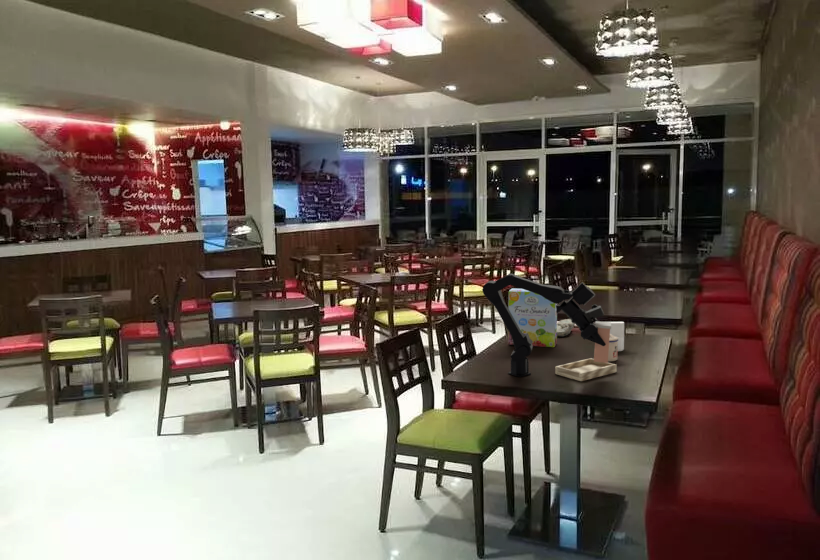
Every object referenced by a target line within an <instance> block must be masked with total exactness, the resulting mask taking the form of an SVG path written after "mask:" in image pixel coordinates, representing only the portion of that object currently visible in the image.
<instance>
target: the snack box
mask: <svg viewBox="0 0 820 560" xmlns="http://www.w3.org/2000/svg"><path fill="white" fill-rule="evenodd" d="M507 303H508V306H507V307H508V309H509V311H510V313H511V314H512V316H513V318H514V320H515V321H516V323H517V325H518V327H519V328H520V330H521V332H522V333H524V334H527V333H528V335H529V337H530V339H531V340H532V341H533V342H532V345H533V347H541V348H542V347H545V348H555V347H556V345H557V339H558V336H557V323H558V313H556V310H557V309H556V305H558V303H557V304H556V303H553V302H551V301H549V300H547V299H546V298H544V297H543V296H541V295H539V294H536V293H533V292H530V291H527V290H524V289H521V288H518V287H515V288H514V287H513V288H511V289H509V291H508V302H507ZM507 331H508V330H507ZM507 337H508V340H507V341H508V343H507V345H512V346H514V343H513V339H512V336H511V334H510V332H509V331H508V335H507Z"/></svg>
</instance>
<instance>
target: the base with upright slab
mask: <svg viewBox="0 0 820 560" xmlns="http://www.w3.org/2000/svg"><path fill="white" fill-rule="evenodd" d="M610 322H611V329H610V334H611V335H613V336H615V337H617V338H618V352H622V351H624V350H625V322H624V321H610Z"/></svg>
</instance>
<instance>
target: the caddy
mask: <svg viewBox="0 0 820 560" xmlns="http://www.w3.org/2000/svg"><path fill="white" fill-rule="evenodd" d="M611 322H612V321H599V320H597V321H595V323H594V324H595V325H596V326H597V327H598V333H599V335H600V336H601V338H602V339H603V341H604V342H605V343H606V345H605V346H602V345H600V344H597V343H595V342H594V351H593V359H594V362H604V363H609V361H608V352H609V338H610V329H611Z"/></svg>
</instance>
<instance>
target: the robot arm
mask: <svg viewBox="0 0 820 560" xmlns="http://www.w3.org/2000/svg"><path fill="white" fill-rule="evenodd" d="M509 286H514V287H515V288H517V289H524V290H527V291H530V292H533V293H536V294H539V295H541V296H543V297H544V298H546V299H547V300H549V301H551V302H553V303H556V304H557V305H556V309H557V310H556V313H557V314H558V313H560V312H561V311H562V312H563V313H564V315H566V317H567V318H568V319H571V320H572V321H571V322H572V323H575V324H574V325H575V326H576V327H578V328H579V329H578V330H580V337H581V338H582V339H583V340H587V341H590V342H593V343H594V344H595V343H597V344H600V345H602V346H605V345H606V343H605V342H604V341H603V339H602V338H601V336H600V335H599V333H598V327H597V326H596V325H595V323H594V322H596V321H598V319H597V318H601V317H603V316H604V315H605V312H604V310H603V308H602V305H598V304H593V305H591V309H589V310H586V309H582V307H580V306H581V305H583V306H585V305H586V304H587V303H588V302H589V301H591V300H592V299H593V298H594V297H596V293H595V292H594V290H592V288H590V287H589V286H587V285H586V284H585V283H584V282H581V283H579V285H578V286H577V287H576V288H575V289H573V290H568V289H564V288H563V287H561V286H560V285H559V286H558V285H551V284H544V283H543V284H542V283H539V282H537V281H533V280H531V279H526V278H525V277H521V276H519V275H516V274H514V273H508V274H506V275H505V276H503V277H501V278H499V279H496V280H488V281H487V282H486V283H485V284H484V285H483V286H482V289H481V291H482V293H483V296H485V297H486V299H487V301H489V302H490V303H491V304H492V305H493V306H494V308H495V309H496V311H497V312H498V315H499V316H500V318H501V320H502V321H503V323H504V325H505V327H506V329H507V331H509V332H510V334H511V336H512V339H513V343H514V345H513V346H514V349H513V350H512V352H511V355H510V371H508V372H507V374H509V375H511V376H515V377H518V378H521V377H524V376H528V375H531V374H532V372H530V370H529V369H530V368H529V358H528V356H530V355H531V353H532V351H533V347H534V346H533V345H532V342H533V341H532V340H531V339H530V337H529V335H528V333H527V334H524V333H522V332H521V330H520V328H519V327H518V325H517V323H516V321H515V320H514V318H513V316H512V314H511V313H510V311H509V309H508V306H507V304H506V302H505V300H504V297H503V293H502V290H503V289H505V288H507V287H509Z"/></svg>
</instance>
